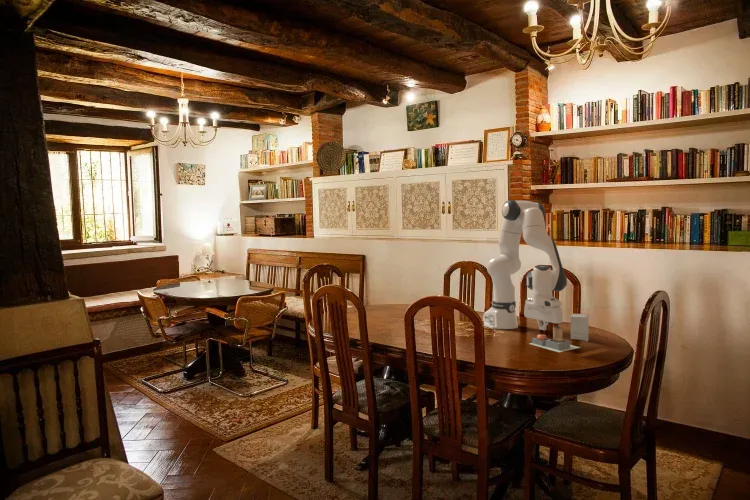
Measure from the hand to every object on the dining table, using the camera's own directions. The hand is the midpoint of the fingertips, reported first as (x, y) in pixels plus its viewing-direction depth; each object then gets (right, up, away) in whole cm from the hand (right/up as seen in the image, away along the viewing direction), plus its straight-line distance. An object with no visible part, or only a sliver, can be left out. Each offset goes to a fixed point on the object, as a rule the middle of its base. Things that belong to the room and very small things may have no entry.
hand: (542, 329), depth 243 cm
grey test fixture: (+4, -8, -3) cm, 10 cm away
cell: (+5, -7, -6) cm, 11 cm away
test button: (0, -5, +1) cm, 5 cm away
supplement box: (+21, -7, +10) cm, 24 cm away
